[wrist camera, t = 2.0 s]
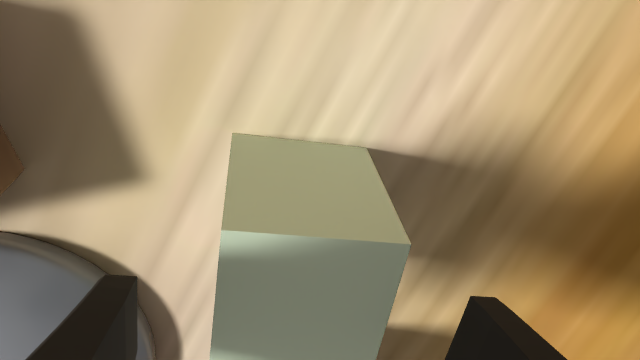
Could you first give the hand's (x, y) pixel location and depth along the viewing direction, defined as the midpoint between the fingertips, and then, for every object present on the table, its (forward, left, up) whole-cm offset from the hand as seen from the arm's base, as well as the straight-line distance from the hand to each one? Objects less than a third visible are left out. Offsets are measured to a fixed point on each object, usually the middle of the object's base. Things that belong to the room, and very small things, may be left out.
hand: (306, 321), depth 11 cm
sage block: (0, 0, -5) cm, 5 cm away
